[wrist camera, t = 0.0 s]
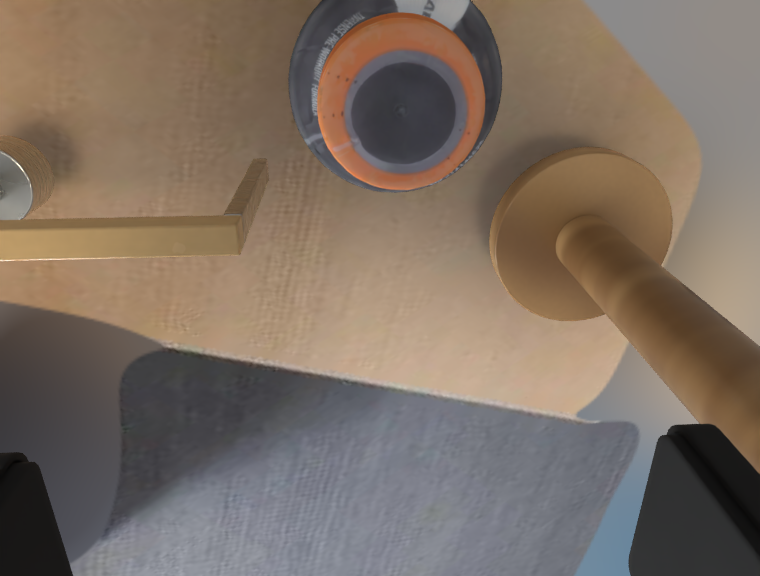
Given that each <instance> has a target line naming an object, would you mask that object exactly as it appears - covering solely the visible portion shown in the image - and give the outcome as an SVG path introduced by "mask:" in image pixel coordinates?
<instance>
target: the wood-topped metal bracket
mask: <svg viewBox="0 0 760 576" xmlns="http://www.w3.org/2000/svg"><path fill="white" fill-rule="evenodd" d="M268 181H269V177H268V164H267V159H253V161H252V163H251V164H250V166H249V168H248V170H247V172H246V174H245V176H244V178H243V179H242V181H241V183H240V185H239V187H238V189H237V191H236V193H235V195H234V196H233V198H232V200H231V202H230V204H229V206H228V208H227V210H226V211H225V213H224V215H223V216H176V217H127V218H78V219H28V220H22V219H23V218H25V217H26V216H27V215H29V214H30V213H32V212H33V211H35V210H36V209H38V208H39V207H40V206H42V205H43V204H44V203H45V202H46V201H47V200H48V199H49V198H50V196H51V194H52V191H53V186H54V177H53V172H52V169H51V166H50V164H49V162H48V161H47V159H46V158H45V156H44V155H43V154H42V153H41V152H40V151H39V150H38V149H37V148H36V147H35V146H33V145H32V144H30V143H28V142H27V141H25V140H22V139H20V138H17V137H13V136H4V135H3V136H0V261H23V260H64V259H106V258H147V257H189V256H231V255H240V254H241V251H242V248H243V246H244V243H245V241H246V238H247V236H248V233H249V230H250V228H251V225H252V223H253V220H254V217H255V215H256V212H257V210H258V207H259V204H260V202H261V199H262V197H263V194H264V191H265V189H266V186H267V183H268Z"/></svg>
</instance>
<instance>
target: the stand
mask: <svg viewBox="0 0 760 576" xmlns="http://www.w3.org/2000/svg"><path fill="white" fill-rule="evenodd" d="M671 234H672V212H671V206H670V202H669V199H668V196H667V194H666V192H665V190H664V188H663V186H662V185H661V183H660V182H659V180H658V179H657V178H656V177H655V175H654V174H653V173H652V172H651V171H650V170H648V169H647V168H646V167H644V166H643V165H642V164H640V163H638V162H636V161H634V160H633V159H631V158H629V157H627V156H625V155H623V154H621V153H619V152H616V151H613V150H610V149H605V148H600V147H580V148H573V149H568V150H564V151H561V152H558V153H555V154H552V155H550V156H548V157H546V158H544V159H542V160H540V161H539V162H537V163H535V164H534V165H532V166H531V167H529V168H528V169H527V170H526V171H525V172H523V173H522V174H521V175H520V176H519V177H518V178H517V179H516V180H515V181H514V182H513V183H512V184H511V186H510V187H509V188H508V190H507V191H506V192H505V194H504V196H503V197H502V199H501V201H500V202H499V204H498V207H497V209H496V211H495V214H494V217H493V220H492V224H491V229H490V238H489V247H490V255H491V260H492V263H493V267H494V269H495V271H496V273H497V275H498V277H499V279H500V281H501V282H502V284H503V286H504V287H505V289H506V290H507V292H508V293H509V294H510V296H511V297H512V298H513V299H514V300H515V301H516V302H517V303H518V304H520V305H521V306H522V307H523V308H525V309H527V310H528V311H530V312H532V313H534V314H536V315H539V316H541V317H545V318H548V319H553V320H559V321H578V320H586V319H591V318H595V317H598V316H601V315H604V314H606V315H607V316H608V317H609V319H610V320H611V321H612V322H613V323H614V324H615V326H616V327H617V328H618V329H619V330H620V331H621V332H622V334H623V335H624V336H625V337H626V338H627V339H628V341H629V342H630V343H631V344H632V345H633V346H634V348H635V349H636V350H637V351H638V352H639V353H640V355H641V356H642V357H643V358H644V359H645V360H646V361H647V363H648V364H649V365H650V366H651V367H652V368H653V370H654V371H655V372H656V373H657V374H658V375H659V377H660V378H661V379H662V380H663V381H664V383H665V384H666V385H667V386H668V387H669V388H670V390H671V391H672V392H673V393H674V394H675V395H676V397H677V398H678V399H679V400H680V401H681V402H682V404H684V406H685V407H686V408H687V409H688V411H689V412H690V413H691V414H692V415H693V416H694V417H695V419H696V420H697V421H698V422H699V423H700V424H712V425H715V426H716V427H717V428H719V429H720V430H721V431H722V433H723V434H724V435H725V436H726V437H727V438H728V439H729V440H730V441H731V443H732V444H733V445H734V446H735V447H736V448H737V449H738V450H739V452H740V453H741V454H742V455H743V456H744V457H745V458H746V459H747V460H748V462H749V463H750V464H751V465H752V466H753V467H754V468H755V469H756V471H757V472H758V473H759V474H760V346H758V345H757V344H756V343H755V342H754V341H752V340H751V339H750V338H749V337H748V336H746V335H745V334H744V333H743V332H741V331H740V330H739V329H738V328H736V327H735V326H734V325H733V324H732V323H730V322H729V321H728V320H727V319H725V318H724V317H723V316H722V315H721V314H719V313H718V312H717V311H716V310H714V309H713V308H712V307H711V306H710V305H708V304H707V303H706V302H705V301H703V300H702V299H701V298H700V297H699V296H697V295H696V294H695V293H694V292H692V291H691V290H690V289H689V288H688V287H686V286H685V285H684V284H682V283H681V282H680V281H679V280H678V279H677V278H675V277H674V276H673V275H672V274H670V273H669V272H668V271H666V269H664V268H663V267H662V266H661V264H662V263H663V261H664V258H665V256H666V254H667V251H668V248H669V244H670V241H671Z"/></svg>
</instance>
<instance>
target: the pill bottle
mask: <svg viewBox="0 0 760 576" xmlns="http://www.w3.org/2000/svg"><path fill="white" fill-rule="evenodd" d="M501 90H502V65H501V60H500V55H499V50H498V46H497V44H496V41H495V38H494V36H493V33H492V31H491V28H490V27H489V25H488V23H487V21H486V19H485V17H484V15H483V14H482V13H481V12H480V11H479V10H478V8H477V7H476V6H475V5H474V4H473V3H472V1H471V0H322V1H321V2H320V3H319V5H318V6H317V7H316V8H315V9H314V10H313V12H312V13H311V15H310V16H309V17H308V19H307V21H306V22H305V24H304V26H303V27H302V29H301V31H300V34H299V36H298V38H297V41H296V43H295V46H294V50H293V53H292V57H291V61H290V69H289V95H290V102H291V108H292V113H293V116H294V120H295V122H296V124H297V127H298V130H299V132H300V134H301V136H302V138H303V139H304V141H305V142H306V144H307V146H308V147H309V149H310V150H311V151H312V152H313V154H314V155H315V156H316V157H317V158H318V160H319V161H320V162H321V163H322V164H323V165H324V166H325V167H327V168H328V169H329V170H331V171H332V172H333V173H335V174H336V175H337V176H339V177H341V178H342V179H344V180H346V181H348V182H350V183H352V184H354V185H357V186H359V187H362V188H366V189H369V190H373V191H380V192H407V191H414V190H418V189H421V188H424V187H428V186H430V185H433V184H436V183H438V182H440V181H442V180H443V179H445V178H447V177H449V176H450V175H452V174H453V173H455V172H456V171H457V170H459V169H460V168H461V167H462V166H463V165H464V164H465V163H467V162H468V161H469V160H470V159H471V158H472V156H473V155H474V154H475V153H476V152H477V151H478V149H479V148H480V146H481V145H482V144H483V142H484V141H485V139H486V137H487V135H488V134H489V132H490V130H491V128H492V125H493V123H494V121H495V118H496V114H497V111H498V107H499V103H500V97H501Z"/></svg>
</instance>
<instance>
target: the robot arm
mask: <svg viewBox="0 0 760 576" xmlns="http://www.w3.org/2000/svg"><path fill="white" fill-rule="evenodd" d="M629 570H630V575H631V576H760V474H759V473H758V472H757V471H756V469H755V468H754V467H753V466H752V465H751V464H750V463H749V462H748V460H747V459H746V458H745V457H744V456H743V455H742V454H741V453H740V452H739V450H738V449H737V448H736V447H735V446H734V445H733V444H732V443H731V441H730V440H729V439H728V438H727V437H726V436H725V435H724V434H723V433H722V431H721V430H720V429H719V428H717V427H716V426H715V425H712V424H687V425H674V426H672V427H671V428H670V429H669V430H668V432H667V435H662V436H660V438H659V439H658V442H657V445H656V449H655V453H654V457H653V461H652V465H651V469H650V473H649V477H648V481H647V485H646V489H645V494H644V498H643V502H642V506H641V510H640V514H639V518H638V522H637V526H636V530H635V534H634V539H633V542H632V546H631V551H630V554H629ZM0 576H73V574H72V571H71V568H70V564H69V561H68V558H67V555H66V551H65V548H64V545H63V542H62V538H61V535H60V532H59V529H58V526H57V523H56V519H55V516H54V513H53V510H52V506H51V503H50V500H49V497H48V493H47V490H46V487H45V484H44V480H43V477H42V474H41V471H40V468H39V466H38V465H37V464H36V463H35V462H29V461H28V460H27V457H26V456H25V455H24V454H23V453H17V452H16V453H15V452H14V453H0Z"/></svg>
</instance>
